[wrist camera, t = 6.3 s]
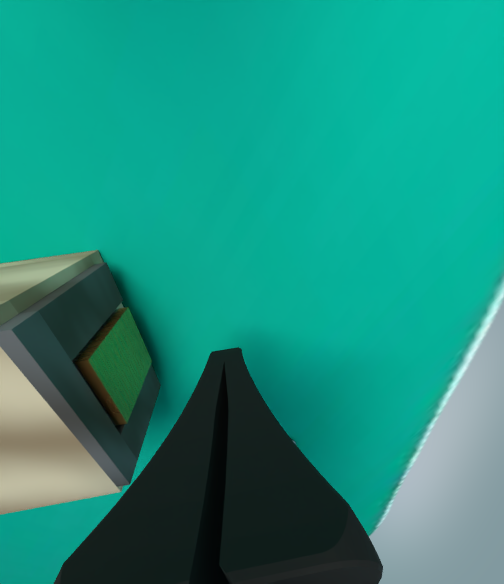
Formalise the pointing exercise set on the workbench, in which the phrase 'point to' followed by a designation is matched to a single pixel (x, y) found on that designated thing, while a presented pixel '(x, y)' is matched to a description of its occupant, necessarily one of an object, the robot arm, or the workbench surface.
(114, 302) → the sleeve
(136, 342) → the peg
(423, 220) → the workbench surface
